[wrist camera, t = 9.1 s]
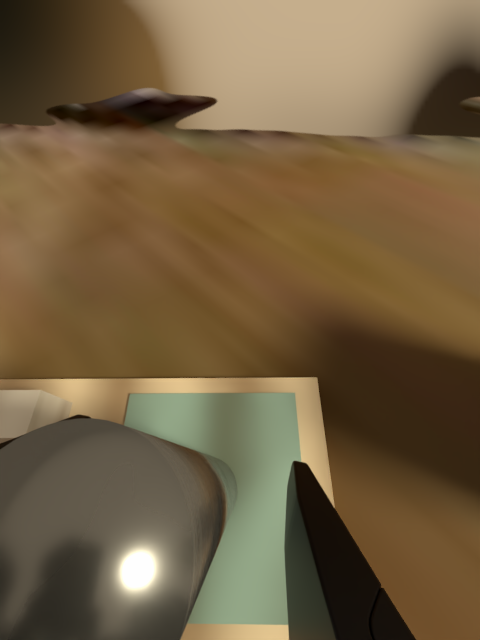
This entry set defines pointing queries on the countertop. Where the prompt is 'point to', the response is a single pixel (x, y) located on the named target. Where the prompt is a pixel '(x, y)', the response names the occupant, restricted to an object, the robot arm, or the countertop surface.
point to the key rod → (106, 532)
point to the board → (220, 442)
